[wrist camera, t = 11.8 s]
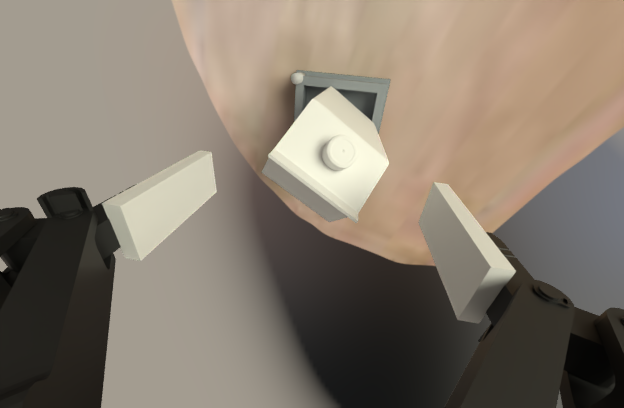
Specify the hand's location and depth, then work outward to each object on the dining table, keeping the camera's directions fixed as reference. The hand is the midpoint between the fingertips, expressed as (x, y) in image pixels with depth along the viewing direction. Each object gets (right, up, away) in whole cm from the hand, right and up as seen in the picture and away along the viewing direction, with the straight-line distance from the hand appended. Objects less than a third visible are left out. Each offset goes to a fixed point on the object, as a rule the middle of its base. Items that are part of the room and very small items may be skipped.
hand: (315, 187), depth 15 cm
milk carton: (+3, +9, +17) cm, 20 cm away
